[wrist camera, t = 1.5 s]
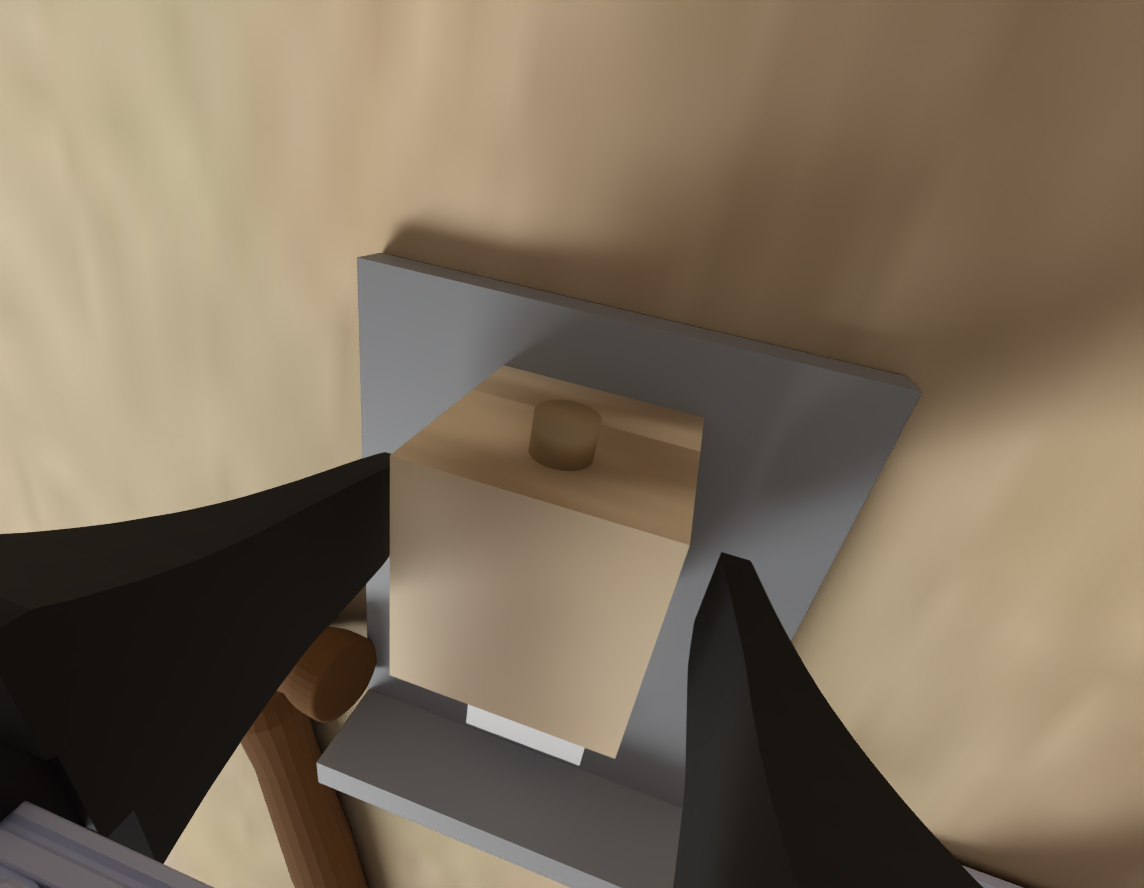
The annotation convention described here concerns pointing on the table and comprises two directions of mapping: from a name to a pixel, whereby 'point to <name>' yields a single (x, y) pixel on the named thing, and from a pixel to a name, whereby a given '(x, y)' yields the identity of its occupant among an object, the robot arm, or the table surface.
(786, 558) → the wall board
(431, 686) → the cabinet block
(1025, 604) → the table surface
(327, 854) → the hammer
